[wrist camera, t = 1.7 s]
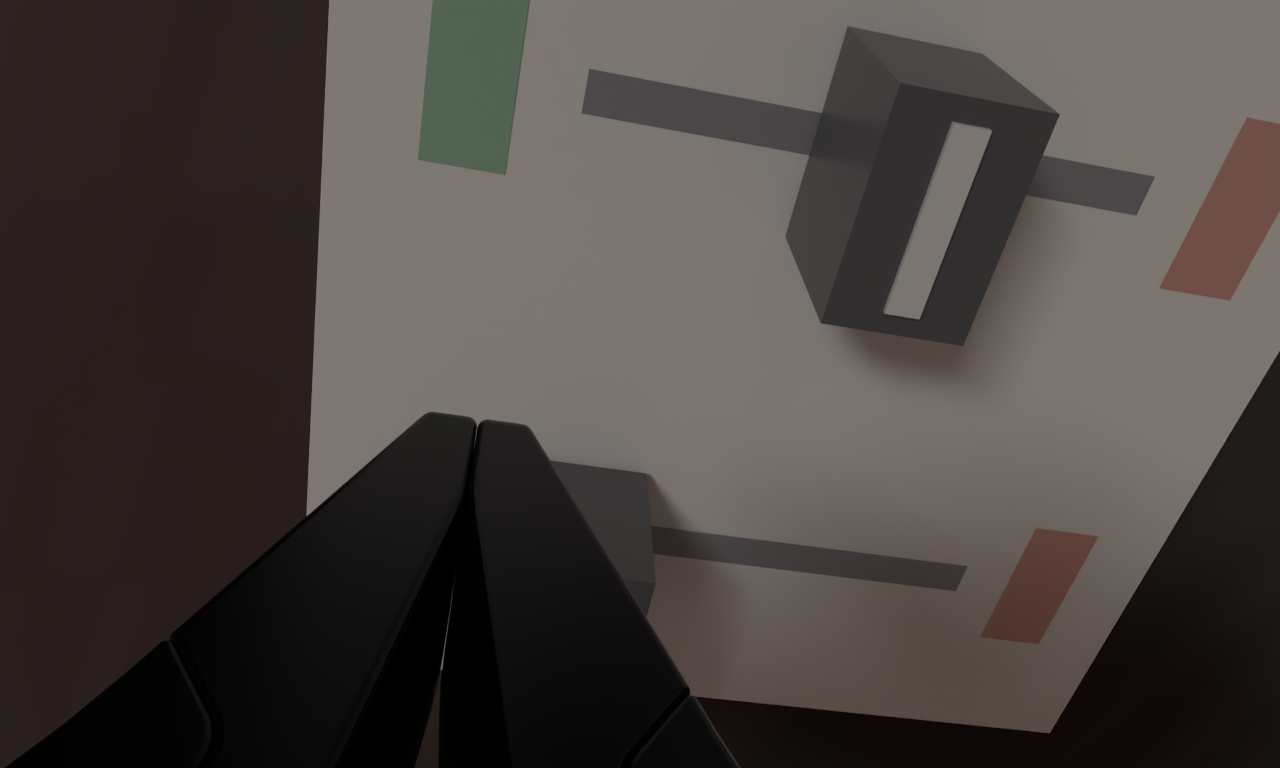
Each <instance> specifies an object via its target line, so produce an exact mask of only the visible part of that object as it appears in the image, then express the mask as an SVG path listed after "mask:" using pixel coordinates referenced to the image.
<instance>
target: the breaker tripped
mask: <svg viewBox="0 0 1280 768" xmlns="http://www.w3.org/2000/svg"><path fill="white" fill-rule="evenodd" d="M1059 115H1060V114H1059V113H1058V112H1056V111H1055V110H1054V109H1052V108H1051V107H1050V106H1049V105H1047V104H1046V103H1045V102H1044V101H1042V100H1041V99H1040V98H1038V97H1037V96H1036V95H1035V94H1033V93H1032V92H1031V91H1029V90H1028V89H1027V88H1026V87H1024V86H1023V85H1022V84H1021V83H1019V82H1018V81H1017V80H1015V79H1014V78H1013V77H1012V76H1010V75H1009V74H1008V73H1006V72H1005V71H1004V70H1003V69H1001V68H1000V67H999V66H997V65H996V64H995V63H994V62H992V61H991V60H990V59H989V58H987V57H986V56H985V55H983V54H982V53H977V52H972V51H967V50H962V49H957V48H952V47H948V46H943V45H938V44H933V43H928V42H923V41H918V40H913V39H908V38H903V37H899V36H894V35H889V34H884V33H879V32H874V31H869V30H864V29H859V28H854V27H850V26H847V30H846V33H845V37H844V40H843V43H842V47H841V50H840V53H839V57H838V60H837V64H836V67H835V70H834V74H833V77H832V80H831V84H830V87H829V91H828V94H827V97H826V101H825V104H824V107H823V111H822V114H821V118H820V121H819V124H818V128H817V131H816V134H815V138H814V141H813V145H812V148H811V151H810V155H809V158H808V161H807V165H806V168H805V172H804V175H803V178H802V182H801V185H800V188H799V192H798V195H797V199H796V202H795V205H794V209H793V212H792V215H791V219H790V222H789V225H788V229H787V232H786V236H785V237H786V240H787V242H788V245H789V247H790V249H791V252H792V254H793V257H794V259H795V262H796V264H797V267H798V269H799V271H800V274H801V276H802V279H803V281H804V284H805V286H806V289H807V291H808V293H809V296H810V298H811V301H812V303H813V306H814V308H815V311H816V313H817V315H818V318H819V320H820V323H822V324H828V325H834V326H840V327H847V328H853V329H859V330H865V331H872V332H878V333H884V334H890V335H897V336H903V337H909V338H915V339H922V340H928V341H934V342H940V343H947V344H953V345H959V346H963V345H964V343H965V341H966V338H967V336H968V333H969V331H970V329H971V326H972V324H973V321H974V319H975V317H976V314H977V312H978V309H979V307H980V305H981V302H982V300H983V297H984V295H985V293H986V290H987V288H988V285H989V283H990V281H991V278H992V276H993V273H994V271H995V269H996V266H997V264H998V262H999V259H1000V257H1001V254H1002V252H1003V250H1004V247H1005V245H1006V242H1007V240H1008V238H1009V235H1010V233H1011V230H1012V228H1013V226H1014V223H1015V221H1016V218H1017V216H1018V214H1019V211H1020V209H1021V206H1022V204H1023V202H1024V199H1025V197H1026V194H1027V192H1028V190H1029V187H1030V185H1031V182H1032V180H1033V178H1034V175H1035V173H1036V170H1037V168H1038V166H1039V163H1040V161H1041V159H1042V156H1043V154H1044V151H1045V149H1046V147H1047V144H1048V142H1049V139H1050V137H1051V135H1052V132H1053V130H1054V127H1055V125H1056V123H1057V120H1058V118H1059Z"/></svg>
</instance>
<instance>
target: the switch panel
mask: <svg viewBox="0 0 1280 768" xmlns="http://www.w3.org/2000/svg"><path fill="white" fill-rule="evenodd" d="M847 26H850V27H854V28H859V29H864V30H869V31H874V32H879V33H884V34H889V35H894V36H899V37H903V38H908V39H913V40H918V41H923V42H928V43H933V44H938V45H943V46H948V47H952V48H957V49H962V50H967V51H972V52H977V53H982V54H983V55H985V56H986V57H987V58H989V59H990V60H991V61H992V62H994V63H995V64H996V65H997V66H999V67H1000V68H1001V69H1003V70H1004V71H1005V72H1006V73H1008V74H1009V75H1010V76H1012V77H1013V78H1014V79H1015V80H1017V81H1018V82H1019V83H1021V84H1022V85H1023V86H1024V87H1026V88H1027V89H1028V90H1029V91H1031V92H1032V93H1033V94H1035V95H1036V96H1037V97H1038V98H1040V99H1041V100H1042V101H1044V102H1045V103H1046V104H1047V105H1049V106H1050V107H1051V108H1052V109H1054V110H1055V111H1056V112H1058V113H1059V114H1060V115H1059V118H1058V120H1057V123H1056V125H1055V127H1054V130H1053V132H1052V135H1051V137H1050V139H1049V142H1048V144H1047V147H1046V149H1045V151H1044V154H1043V156H1042V159H1041V161H1040V163H1039V166H1038V168H1037V170H1036V173H1035V175H1034V178H1033V180H1032V182H1031V185H1030V187H1029V190H1028V192H1027V194H1026V197H1025V199H1024V202H1023V204H1022V206H1021V209H1020V211H1019V214H1018V216H1017V218H1016V221H1015V223H1014V226H1013V228H1012V230H1011V233H1010V235H1009V238H1008V240H1007V242H1006V245H1005V247H1004V250H1003V252H1002V254H1001V257H1000V259H999V262H998V264H997V266H996V269H995V271H994V273H993V276H992V278H991V281H990V283H989V285H988V288H987V290H986V293H985V295H984V297H983V300H982V302H981V305H980V307H979V309H978V312H977V314H976V317H975V319H974V321H973V324H972V326H971V329H970V331H969V333H968V336H967V338H966V341H965V343H964V345H963V346H959V345H953V344H947V343H940V342H934V341H928V340H922V339H915V338H909V337H903V336H897V335H890V334H884V333H878V332H872V331H865V330H859V329H853V328H847V327H840V326H834V325H828V324H822V323H820V320H819V318H818V315H817V313H816V311H815V308H814V306H813V303H812V301H811V298H810V296H809V293H808V291H807V289H806V286H805V284H804V281H803V279H802V276H801V274H800V271H799V269H798V267H797V264H796V262H795V259H794V257H793V254H792V252H791V249H790V247H789V245H788V242H787V240H786V237H785V236H786V232H787V229H788V225H789V222H790V219H791V215H792V212H793V209H794V205H795V202H796V199H797V195H798V192H799V188H800V185H801V182H802V178H803V175H804V172H805V168H806V165H807V161H808V158H809V155H810V151H811V148H812V145H813V141H814V138H815V134H816V131H817V128H818V124H819V121H820V118H821V114H822V111H823V107H824V104H825V101H826V97H827V94H828V91H829V87H830V84H831V80H832V77H833V74H834V70H835V67H836V64H837V60H838V57H839V53H840V50H841V47H842V43H843V40H844V37H845V33H846V30H847ZM1279 351H1280V0H329V20H328V42H327V65H326V88H325V110H324V133H323V156H322V178H321V201H320V223H319V246H318V269H317V291H316V314H315V336H314V359H313V382H312V404H311V427H310V450H309V472H308V495H307V516H308V515H309V514H310V513H311V512H312V511H313V510H315V509H316V508H317V507H318V506H319V505H320V504H321V503H323V502H324V501H325V500H326V499H327V498H328V497H330V496H331V495H332V494H333V493H334V492H335V491H336V490H338V489H339V488H340V487H341V486H342V485H343V484H344V483H346V482H347V481H348V480H349V479H350V478H351V477H353V476H354V475H355V474H356V473H357V472H358V471H359V470H361V469H362V468H363V467H364V466H365V465H366V464H367V463H369V462H370V461H371V460H372V459H373V458H374V457H376V456H377V455H378V454H379V453H380V452H381V451H382V450H384V449H385V448H386V447H387V446H388V445H389V444H390V443H392V442H393V441H394V440H395V439H396V438H397V437H399V436H400V435H401V434H402V433H403V432H404V431H405V430H407V429H408V428H409V427H410V426H411V425H412V424H413V423H415V422H416V421H417V420H418V419H419V418H420V417H422V416H423V415H424V414H425V413H428V412H439V413H446V414H453V415H461V416H468V417H471V418H473V419H474V420H475V421H476V423H477V427H478V424H479V423H480V422H481V421H483V420H486V419H489V420H497V421H504V422H512V423H519V424H524V425H527V426H528V427H529V428H530V429H531V430H532V431H533V433H534V435H535V436H536V438H537V440H538V441H539V443H540V445H541V446H542V448H543V449H544V451H545V453H546V454H547V456H548V458H549V459H550V461H558V462H565V463H572V464H580V465H587V466H595V467H602V468H610V469H617V470H624V471H632V472H639V473H646V476H647V487H648V499H649V510H650V522H651V533H652V544H653V556H654V567H655V579H656V585H655V588H654V592H653V595H652V599H651V603H650V606H649V610H648V613H647V619H648V621H649V622H650V624H651V625H652V627H653V629H654V630H655V632H656V634H657V635H658V637H659V638H660V640H661V642H662V643H663V645H664V647H665V648H666V650H667V652H668V653H669V655H670V656H671V658H672V660H673V661H674V663H675V665H676V666H677V668H678V669H679V671H680V673H681V674H682V676H683V678H684V679H685V681H686V682H687V684H688V686H689V688H690V695H693V696H696V697H706V698H716V699H725V700H735V701H745V702H754V703H764V704H774V705H783V706H793V707H803V708H812V709H822V710H832V711H841V712H851V713H860V714H870V715H880V716H889V717H899V718H909V719H918V720H928V721H938V722H947V723H957V724H967V725H976V726H986V727H996V728H1005V729H1015V730H1024V731H1034V732H1044V733H1050V732H1051V730H1052V729H1053V727H1054V725H1055V724H1056V722H1057V720H1058V719H1059V717H1060V715H1061V714H1062V712H1063V710H1064V709H1065V707H1066V705H1067V704H1068V702H1069V700H1070V699H1071V697H1072V695H1073V694H1074V692H1075V690H1076V689H1077V687H1078V685H1079V684H1080V682H1081V680H1082V679H1083V677H1084V675H1085V674H1086V672H1087V670H1088V669H1089V667H1090V665H1091V664H1092V662H1093V660H1094V659H1095V657H1096V655H1097V654H1098V652H1099V650H1100V649H1101V647H1102V645H1103V644H1104V642H1105V640H1106V639H1107V637H1108V635H1109V634H1110V632H1111V630H1112V629H1113V627H1114V625H1115V624H1116V622H1117V620H1118V619H1119V617H1120V615H1121V614H1122V612H1123V610H1124V609H1125V607H1126V605H1127V604H1128V602H1129V600H1130V599H1131V597H1132V595H1133V594H1134V592H1135V590H1136V589H1137V587H1138V585H1139V584H1140V582H1141V580H1142V579H1143V577H1144V575H1145V574H1146V572H1147V570H1148V569H1149V567H1150V565H1151V564H1152V562H1153V560H1154V559H1155V557H1156V556H1157V554H1158V552H1159V551H1160V549H1161V547H1162V546H1163V544H1164V542H1165V541H1166V539H1167V537H1168V536H1169V534H1170V532H1171V531H1172V529H1173V527H1174V526H1175V524H1176V522H1177V521H1178V519H1179V517H1180V516H1181V514H1182V512H1183V511H1184V509H1185V507H1186V506H1187V504H1188V502H1189V501H1190V499H1191V497H1192V496H1193V494H1194V492H1195V491H1196V489H1197V487H1198V486H1199V484H1200V482H1201V481H1202V479H1203V477H1204V476H1205V474H1206V472H1207V471H1208V469H1209V467H1210V466H1211V464H1212V462H1213V461H1214V459H1215V457H1216V456H1217V454H1218V452H1219V451H1220V449H1221V447H1222V446H1223V444H1224V442H1225V441H1226V439H1227V437H1228V436H1229V434H1230V432H1231V431H1232V429H1233V427H1234V426H1235V424H1236V422H1237V421H1238V419H1239V417H1240V416H1241V414H1242V412H1243V411H1244V409H1245V407H1246V406H1247V404H1248V402H1249V401H1250V399H1251V397H1252V396H1253V394H1254V392H1255V391H1256V389H1257V387H1258V386H1259V384H1260V382H1261V381H1262V379H1263V377H1264V376H1265V374H1266V372H1267V371H1268V369H1269V367H1270V366H1271V364H1272V363H1273V361H1274V359H1275V358H1276V356H1277V354H1278V353H1279ZM476 433H477V431H476ZM475 439H476V438H475ZM474 446H475V445H474ZM453 588H454V587H453ZM452 595H453V594H452ZM451 602H452V600H451ZM450 609H451V607H450ZM449 615H450V614H449ZM448 622H449V620H448ZM447 629H448V627H447ZM446 636H447V634H446ZM445 643H446V640H445ZM444 650H445V647H444ZM443 658H444V654H443ZM442 667H443V659H442V665H441V670H442Z"/></svg>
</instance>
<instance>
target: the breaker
mask: <svg viewBox="0 0 1280 768" xmlns="http://www.w3.org/2000/svg"><path fill="white" fill-rule="evenodd" d="M551 462H552V464H553V466H554V467H555V469H556V471H557V472H558V474H559V475H560V477H561V479H562V480H563V482H564V484H565V485H566V487H567V489H568V490H569V492H570V493H571V495H572V497H573V498H574V500H575V502H576V503H577V505H578V506H579V508H580V510H581V511H582V513H583V515H584V516H585V518H586V520H587V521H588V523H589V524H590V526H591V528H592V529H593V531H594V533H595V534H596V536H597V537H598V539H599V541H600V542H601V544H602V546H603V547H604V549H605V550H606V552H607V554H608V555H609V557H610V559H611V560H612V562H613V564H614V565H615V567H616V568H617V570H618V572H619V573H620V575H621V577H622V578H623V580H624V581H625V583H626V585H627V586H628V588H629V590H630V591H631V593H632V594H633V596H634V598H635V599H636V601H637V603H638V604H639V606H640V608H641V609H642V611H643V612H644V614H645V616H646V617H647V613H648V610H649V606H650V603H651V599H652V595H653V592H654V588H655V585H656V579H655V567H654V556H653V544H652V533H651V522H650V510H649V499H648V487H647V476H646V473H639V472H632V471H624V470H617V469H610V468H602V467H595V466H587V465H580V464H572V463H565V462H558V461H551Z"/></svg>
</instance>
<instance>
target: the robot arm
mask: <svg viewBox="0 0 1280 768" xmlns="http://www.w3.org/2000/svg"><path fill="white" fill-rule="evenodd" d="M476 431H477V433H476ZM475 438H476V439H475ZM474 445H475V446H474ZM453 587H454V588H453ZM452 594H453V595H452ZM451 600H452V602H451ZM450 607H451V609H450ZM449 614H450V615H449ZM448 620H449V622H448ZM447 627H448V629H447ZM446 634H447V636H446ZM445 640H446V643H445ZM444 647H445V650H444ZM443 654H444V658H443ZM442 659H443V667H442V675H441V687H440V707H439V768H741V767H740V766H739V764H738V763H737V761H736V760H735V758H734V757H733V755H732V754H731V752H730V751H729V749H728V748H727V746H726V745H725V743H724V742H723V740H722V739H721V737H720V736H719V734H718V733H717V731H716V729H715V728H714V726H713V724H712V723H711V721H710V719H709V718H708V716H707V715H706V713H705V711H704V710H703V708H702V706H701V705H700V703H699V701H698V700H697V698H696V697H695V696H693V695H690V688H689V686H688V684H687V682H686V681H685V679H684V678H683V676H682V674H681V673H680V671H679V669H678V668H677V666H676V665H675V663H674V661H673V660H672V658H671V656H670V655H669V653H668V652H667V650H666V648H665V647H664V645H663V643H662V642H661V640H660V638H659V637H658V635H657V634H656V632H655V630H654V629H653V627H652V625H651V624H650V622H649V621H648V619H647V617H646V616H645V614H644V612H643V611H642V609H641V608H640V606H639V604H638V603H637V601H636V599H635V598H634V596H633V594H632V593H631V591H630V590H629V588H628V586H627V585H626V583H625V581H624V580H623V578H622V577H621V575H620V573H619V572H618V570H617V568H616V567H615V565H614V564H613V562H612V560H611V559H610V557H609V555H608V554H607V552H606V550H605V549H604V547H603V546H602V544H601V542H600V541H599V539H598V537H597V536H596V534H595V533H594V531H593V529H592V528H591V526H590V524H589V523H588V521H587V520H586V518H585V516H584V515H583V513H582V511H581V510H580V508H579V506H578V505H577V503H576V502H575V500H574V498H573V497H572V495H571V493H570V492H569V490H568V489H567V487H566V485H565V484H564V482H563V480H562V479H561V477H560V475H559V474H558V472H557V471H556V469H555V467H554V466H553V464H552V462H551V461H550V459H549V458H548V456H547V454H546V453H545V451H544V449H543V448H542V446H541V445H540V443H539V441H538V440H537V438H536V436H535V435H534V433H533V431H532V430H531V429H530V428H529V427H528V426H527V425H524V424H519V423H512V422H504V421H497V420H489V419H486V420H483V421H481V422H480V423H479V424H478V427H477V423H476V421H475V420H474V419H473V418H471V417H468V416H461V415H453V414H446V413H439V412H428V413H425V414H424V415H423V416H422V417H420V418H419V419H418V420H417V421H416V422H415V423H413V424H412V425H411V426H410V427H409V428H408V429H407V430H405V431H404V432H403V433H402V434H401V435H400V436H399V437H397V438H396V439H395V440H394V441H393V442H392V443H390V444H389V445H388V446H387V447H386V448H385V449H384V450H382V451H381V452H380V453H379V454H378V455H377V456H376V457H374V458H373V459H372V460H371V461H370V462H369V463H367V464H366V465H365V466H364V467H363V468H362V469H361V470H359V471H358V472H357V473H356V474H355V475H354V476H353V477H351V478H350V479H349V480H348V481H347V482H346V483H344V484H343V485H342V486H341V487H340V488H339V489H338V490H336V491H335V492H334V493H333V494H332V495H331V496H330V497H328V498H327V499H326V500H325V501H324V502H323V503H321V504H320V505H319V506H318V507H317V508H316V509H315V510H313V511H312V512H311V513H310V514H309V515H308V516H307V517H305V518H304V519H303V520H302V521H301V522H300V523H298V524H297V525H296V526H295V527H294V528H293V529H292V530H290V531H289V532H288V533H287V534H286V535H285V536H284V537H282V538H281V539H280V540H279V541H278V542H277V543H275V544H274V545H273V546H272V547H271V548H270V549H269V550H267V551H266V552H265V553H264V554H263V555H262V556H261V557H259V558H258V559H257V560H256V561H255V562H254V563H252V564H251V565H250V566H249V567H248V568H247V569H246V570H244V571H243V572H242V573H241V574H240V575H239V576H238V577H236V578H235V579H234V580H233V581H232V582H231V583H229V584H228V585H227V586H226V587H225V588H224V589H223V590H221V591H220V592H219V593H218V594H217V595H216V596H215V597H213V598H212V599H211V600H210V601H209V602H208V603H206V604H205V605H204V606H203V607H202V608H201V609H200V610H198V611H197V612H196V613H195V614H194V615H193V616H192V617H190V618H189V619H188V620H187V621H186V622H185V623H183V624H182V625H181V626H180V627H179V628H178V629H177V630H175V631H174V632H173V633H172V634H171V636H170V641H163V642H161V643H160V644H158V645H157V646H156V647H155V648H154V649H153V650H152V651H150V652H149V653H148V654H147V655H146V656H145V657H144V658H142V659H141V660H140V661H139V662H138V663H137V664H136V665H134V666H133V667H132V668H131V669H130V670H129V671H127V672H126V673H125V674H124V675H123V676H122V677H120V678H119V679H118V680H117V681H115V682H114V683H113V684H112V685H111V686H109V687H108V688H107V689H106V690H104V691H103V692H102V693H101V694H100V695H98V696H97V697H96V698H95V699H93V700H92V701H91V702H90V703H89V704H87V705H86V706H85V707H84V708H82V709H81V710H80V711H79V712H78V713H76V714H75V715H74V716H73V717H72V718H70V719H69V720H68V721H67V722H65V723H64V724H63V725H62V726H61V727H59V728H58V729H56V730H55V731H54V732H52V733H51V734H50V735H48V736H47V737H46V738H44V739H43V740H42V741H40V742H39V743H37V744H36V745H35V746H33V747H32V748H31V749H29V750H28V751H27V752H25V753H24V754H23V755H21V756H20V757H18V758H17V759H16V760H14V761H13V762H12V763H10V764H9V765H8V766H6V767H5V768H414V767H415V764H416V760H417V757H418V753H419V750H420V747H421V743H422V740H423V736H424V733H425V729H426V726H427V722H428V719H429V715H430V712H431V708H432V705H433V701H434V697H435V693H436V689H437V685H438V681H439V675H440V670H441V665H442Z"/></svg>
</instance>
